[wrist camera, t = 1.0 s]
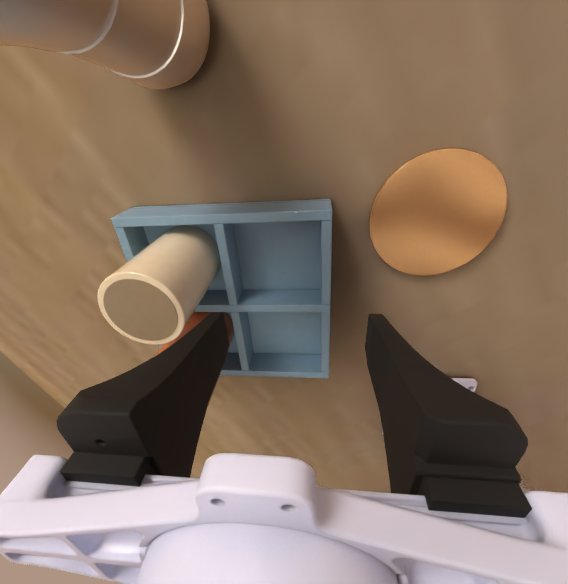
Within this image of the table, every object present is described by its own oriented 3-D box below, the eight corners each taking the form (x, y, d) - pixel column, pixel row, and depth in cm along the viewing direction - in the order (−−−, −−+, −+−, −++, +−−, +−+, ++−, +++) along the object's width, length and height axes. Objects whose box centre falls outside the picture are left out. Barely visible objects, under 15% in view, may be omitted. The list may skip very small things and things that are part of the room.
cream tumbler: (226, 282, 25) (193, 346, 18) (169, 283, 26) (115, 345, 19) (215, 223, 22) (171, 272, 16) (151, 225, 23) (81, 273, 16)
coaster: (482, 272, 23) (485, 275, 22) (364, 273, 24) (365, 276, 23) (523, 143, 18) (528, 144, 18) (375, 152, 19) (376, 153, 19)
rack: (327, 355, 29) (329, 378, 26) (180, 353, 31) (168, 374, 28) (330, 198, 21) (332, 209, 19) (132, 206, 23) (110, 218, 20)
